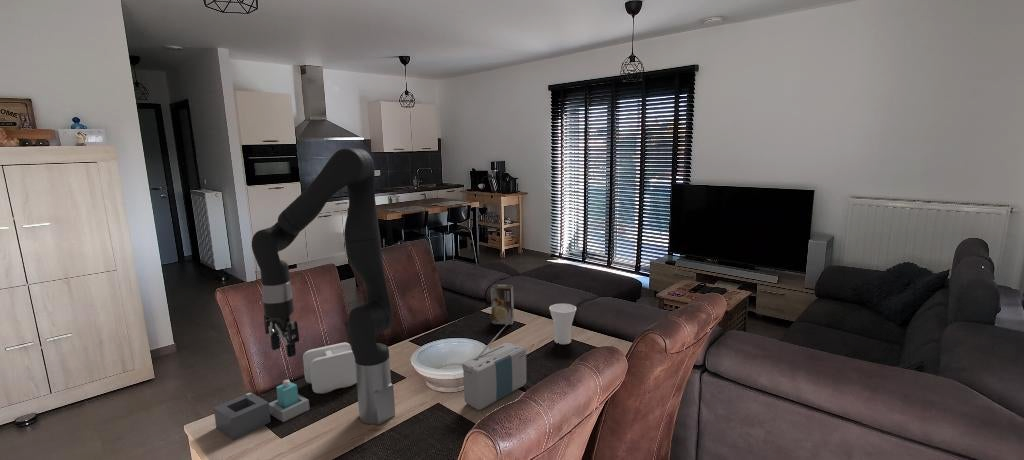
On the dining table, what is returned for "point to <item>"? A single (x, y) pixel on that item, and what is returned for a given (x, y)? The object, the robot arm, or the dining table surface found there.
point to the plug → (287, 394)
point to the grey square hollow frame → (289, 409)
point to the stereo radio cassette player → (494, 374)
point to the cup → (562, 321)
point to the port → (242, 415)
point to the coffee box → (502, 304)
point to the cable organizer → (330, 367)
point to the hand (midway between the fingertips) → (283, 352)
